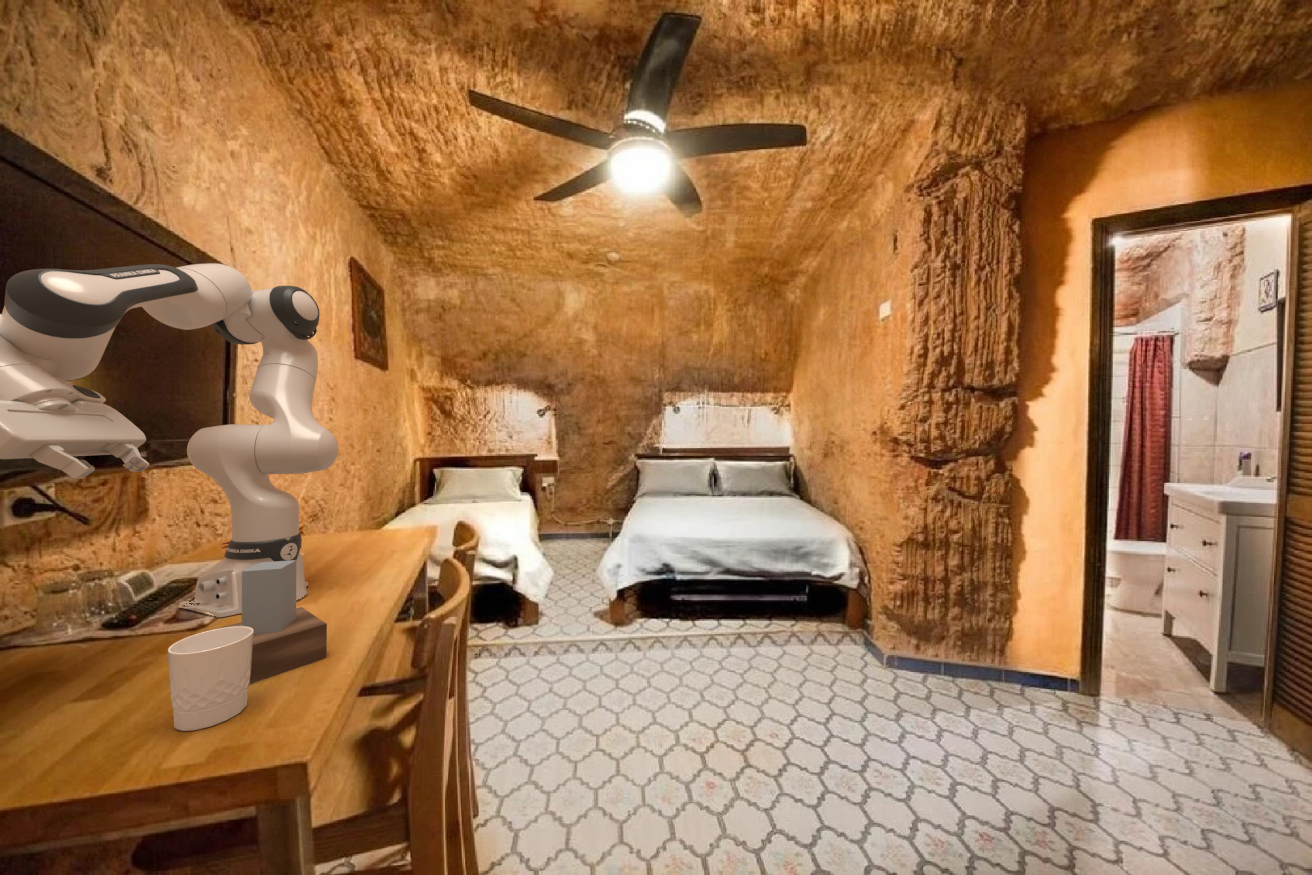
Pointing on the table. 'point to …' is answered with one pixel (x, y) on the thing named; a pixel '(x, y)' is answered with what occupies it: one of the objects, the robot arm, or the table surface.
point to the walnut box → (288, 646)
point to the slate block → (269, 596)
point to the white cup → (210, 676)
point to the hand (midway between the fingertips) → (116, 471)
